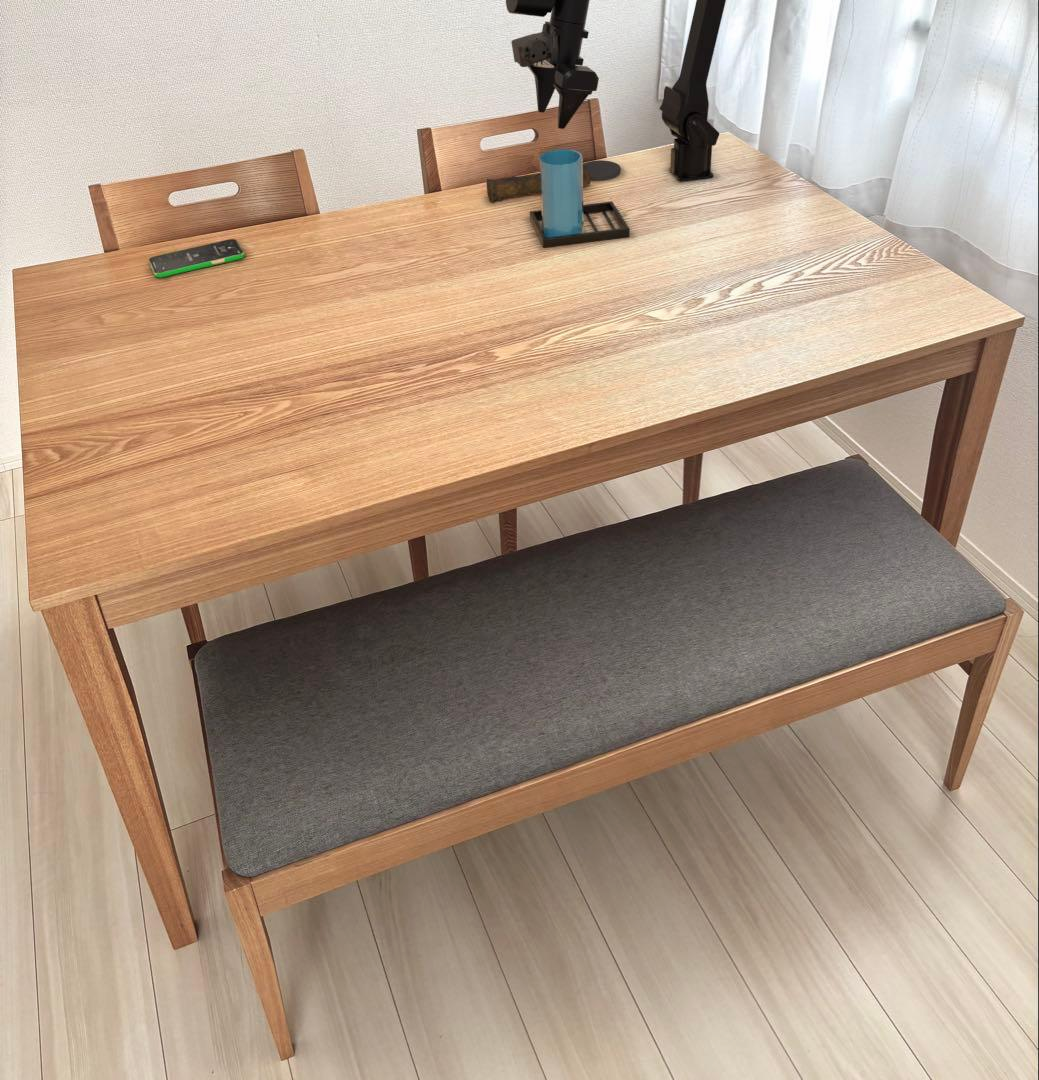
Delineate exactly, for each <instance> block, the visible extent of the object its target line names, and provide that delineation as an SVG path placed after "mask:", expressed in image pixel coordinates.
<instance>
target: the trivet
mask: <svg viewBox="0 0 1039 1080" xmlns="http://www.w3.org/2000/svg"><path fill="white" fill-rule="evenodd" d="M583 164H584V165H585V166H586V167H587V170H588V172H589V173H590V181H591V182H600V181H609V180H612V179H615V178H617V177H619V176H620V175H621V171H622V170H621V169H622V168H621V166H620V164H618V163H617V162H614V161H611V160H604V159H603V160H601V159H600V160H589V161H587V162H583Z"/></svg>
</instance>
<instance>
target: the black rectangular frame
mask: <svg viewBox="0 0 1039 1080" xmlns="http://www.w3.org/2000/svg"><path fill="white" fill-rule="evenodd" d="M607 212H610V214H611V215H612V217H613V218H614V220H615V222H616V223H617V226H618V227H619V228H616V227H615V225H614V224H613V222H612V220H611V219H610V217H609V215H608V214H607ZM596 213H601V214H602V215H603V216H604V218H605V220H606V222H607V223H608V225H609V226H610V228H611V229H604V230H598V228H597V226H596V225H595V222H593V219H592V218H591V216H590V215H591V214H596ZM583 214H584V215H585V217H586V219H587V220H588V223H589V224H590V226H591V227H592V229H593V231H589V232H583V233H580V234H572V235H564V236H556V237H549V238H545V236H544V234H543V232H542V226H541V225H540V223H539V221H540V220H541V221H542V209H539V210H532V211H531V210H530V211H529V220H530V223H531V225H532V227H533V229H534V232H535V234H536V236H537V238H538V240H539V242H540V245H541V247H542V249H549V248H555V247H563V246H571V245H577V244H585V243H586V244H587V243H594V242H600V241H610V240H617V239H624V238H630V227H629V225H628V224H627V222H626V221H625V220H624V219H625V218H623V215H622V214H621V213H620V211H619V210H618V208H617V206H616V205H615V203H614V202H613V201H604V202H595V203H594V202H593V203H588V204H587V203H586V204H583Z"/></svg>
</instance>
